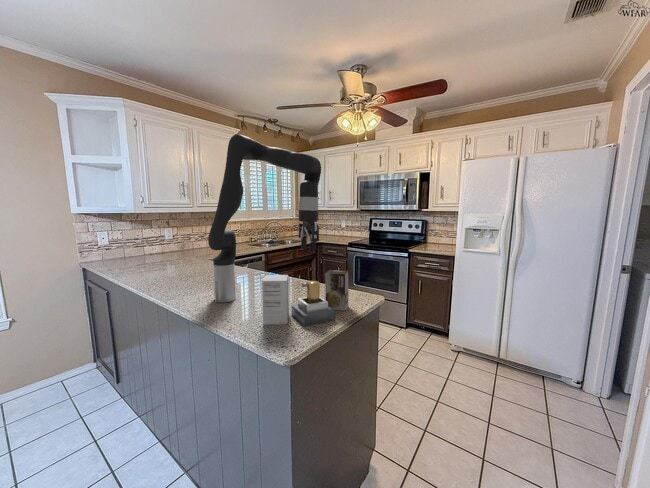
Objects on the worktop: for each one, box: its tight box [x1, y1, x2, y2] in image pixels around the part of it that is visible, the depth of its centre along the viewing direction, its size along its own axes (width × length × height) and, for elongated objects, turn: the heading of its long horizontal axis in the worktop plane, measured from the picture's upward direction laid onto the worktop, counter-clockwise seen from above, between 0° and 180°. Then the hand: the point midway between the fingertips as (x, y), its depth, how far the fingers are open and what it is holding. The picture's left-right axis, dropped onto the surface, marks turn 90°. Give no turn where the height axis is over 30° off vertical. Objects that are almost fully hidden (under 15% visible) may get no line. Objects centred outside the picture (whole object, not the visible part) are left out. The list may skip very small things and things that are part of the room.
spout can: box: [301, 280, 321, 304], centre depth 107 cm, size 5×7×10 cm
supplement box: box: [261, 274, 290, 326], centre depth 104 cm, size 10×9×17 cm
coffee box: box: [324, 269, 350, 312], centre depth 118 cm, size 9×6×16 cm
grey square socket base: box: [291, 295, 336, 327], centre depth 108 cm, size 13×13×7 cm
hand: (308, 250), depth 107 cm, fingers open, 8 cm apart
